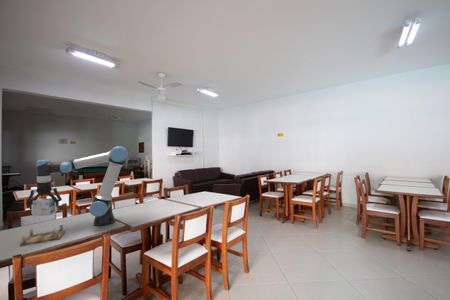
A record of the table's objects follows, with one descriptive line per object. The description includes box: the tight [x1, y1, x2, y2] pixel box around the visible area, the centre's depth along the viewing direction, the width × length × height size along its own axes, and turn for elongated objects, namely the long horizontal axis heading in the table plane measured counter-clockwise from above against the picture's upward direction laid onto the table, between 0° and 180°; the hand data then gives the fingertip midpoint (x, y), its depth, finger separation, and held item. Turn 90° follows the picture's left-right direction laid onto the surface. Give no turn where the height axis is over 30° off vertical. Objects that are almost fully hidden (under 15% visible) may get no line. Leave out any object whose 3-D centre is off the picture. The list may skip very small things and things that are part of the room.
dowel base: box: [19, 224, 66, 247], centre depth 140 cm, size 20×15×6 cm
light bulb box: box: [32, 197, 57, 217], centre depth 145 cm, size 11×7×11 cm, turn 97°
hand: (44, 212), depth 145 cm, fingers closed on light bulb box, 12 cm apart
